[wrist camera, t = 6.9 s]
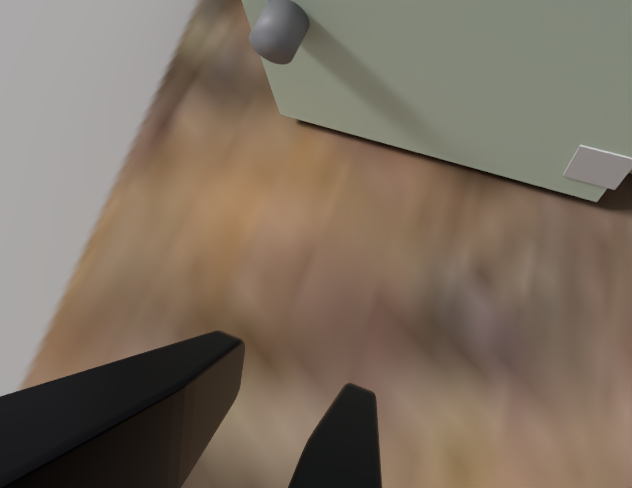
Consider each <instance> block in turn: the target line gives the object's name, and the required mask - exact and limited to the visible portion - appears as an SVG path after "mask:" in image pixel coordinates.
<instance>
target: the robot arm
mask: <svg viewBox="0 0 632 488" xmlns="http://www.w3.org/2000/svg"><path fill="white" fill-rule="evenodd" d="M244 354H245V344H244V342H243V340H242V339H241V338H238V337H236V336H233V335H231V334H228V333H226V332H223V331H213V332H210V333H206V334H203V335H200V336H197V337H193V338H190V339H187V340H184V341H180V342H177V343H174V344H171V345H167V346H164V347H161V348H157V349H154V350H151V351H148V352H144V353H141V354H138V355H135V356H131V357H128V358H125V359H121V360H118V361H115V362H112V363H108V364H105V365H102V366H99V367H95V368H92V369H89V370H86V371H82V372H79V373H76V374H72V375H69V376H66V377H63V378H59V379H56V380H53V381H50V382H46V383H43V384H40V385H37V386H33V387H30V388H27V389H23V390H20V391H17V392H14V393H11V394H7V395H4V396H1V397H0V488H181V486H182V485H183V483H184V482H185V480H186V479H187V477H188V476H189V474H190V472H191V471H192V469H193V468H194V466H195V464H196V463H197V461H198V459H199V458H200V456H201V455H202V453H203V451H204V450H205V448H206V446H207V445H208V443H209V442H210V440H211V438H212V437H213V435H214V434H215V432H216V430H217V429H218V427H219V425H220V424H221V422H222V421H223V419H224V417H225V416H226V414H227V412H228V411H229V409H230V408H231V406H232V404H233V403H234V401H235V399H236V397H237V395H238V392H239V389H240V384H241V377H242V369H243V361H244ZM288 488H382V477H381V463H380V448H379V433H378V418H377V403H376V396H375V394H374V393H373V392H372V391H370V390H367V389H365V388H362V387H360V386H357V385H355V384H352V383H347V384H346V385H344V387H343V388H342V389H341V391H340V392H339V394H338V395H337V397H336V398H335V400H334V401H333V403H332V404H331V406H330V407H329V409H328V410H327V412H326V413H325V415H324V416H323V418H322V419H321V421H320V422H319V424H318V425H317V427H316V428H315V430H314V431H313V433H312V434H311V436H310V438H309V439H308V441H307V443H306V445H305V448H304V450H303V452H302V454H301V457H300V459H299V462H298V464H297V467H296V469H295V471H294V474H293V476H292V479H291V481H290V484H289V486H288Z"/></svg>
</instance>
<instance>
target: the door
mask: <svg viewBox="0 0 632 488" xmlns="http://www.w3.org/2000/svg"><path fill="white" fill-rule="evenodd" d="M242 3H243V6H244V9H245V12H246V15H247V18H248V21H249V24H250V27H251V30H252V31H251V33H250V35H249V40H250V43H251V45H252V47H253V49H254V50H255V51H256V52H257V53H258V54H259V55H260V56H261V59H262V62H263V65H264V68H265V71H266V74H267V77H268V80H269V83H270V86H271V89H272V92H273V95H274V98H275V101H276V104H277V107H278V110H279V113H280V115H284V116H288V117H291V118H295V119H298V120H302V121H306V122H309V123H313V124H317V125H320V126H324V127H327V128H331V129H335V130H338V131H342V132H345V133H349V134H353V135H356V136H360V137H363V138H367V139H371V140H374V141H378V142H381V143H385V144H389V145H392V146H396V147H399V148H403V149H407V150H410V151H414V152H417V153H421V154H425V155H428V156H432V157H435V158H439V159H443V160H446V161H450V162H453V163H457V164H461V165H464V166H468V167H472V168H475V169H479V170H482V171H486V172H490V173H493V174H497V175H500V176H504V177H508V178H511V179H515V180H518V181H522V182H526V183H529V184H533V185H536V186H540V187H544V188H547V189H551V190H554V191H558V192H562V193H565V194H569V195H572V196H576V197H580V198H583V199H587V200H590V201H594V202H597V201H598V200H599V199H600V198H601V196H602V195H603V194H604V192H605V191H606V190H607V188H609V189H613V190H615V189H616V188H617V187H618V185H619V184H620V183H621V182H622V180H623V179H624V178H625V177H626V175H627V174H628V173H629V172H630V170H631V169H632V0H242Z"/></svg>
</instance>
